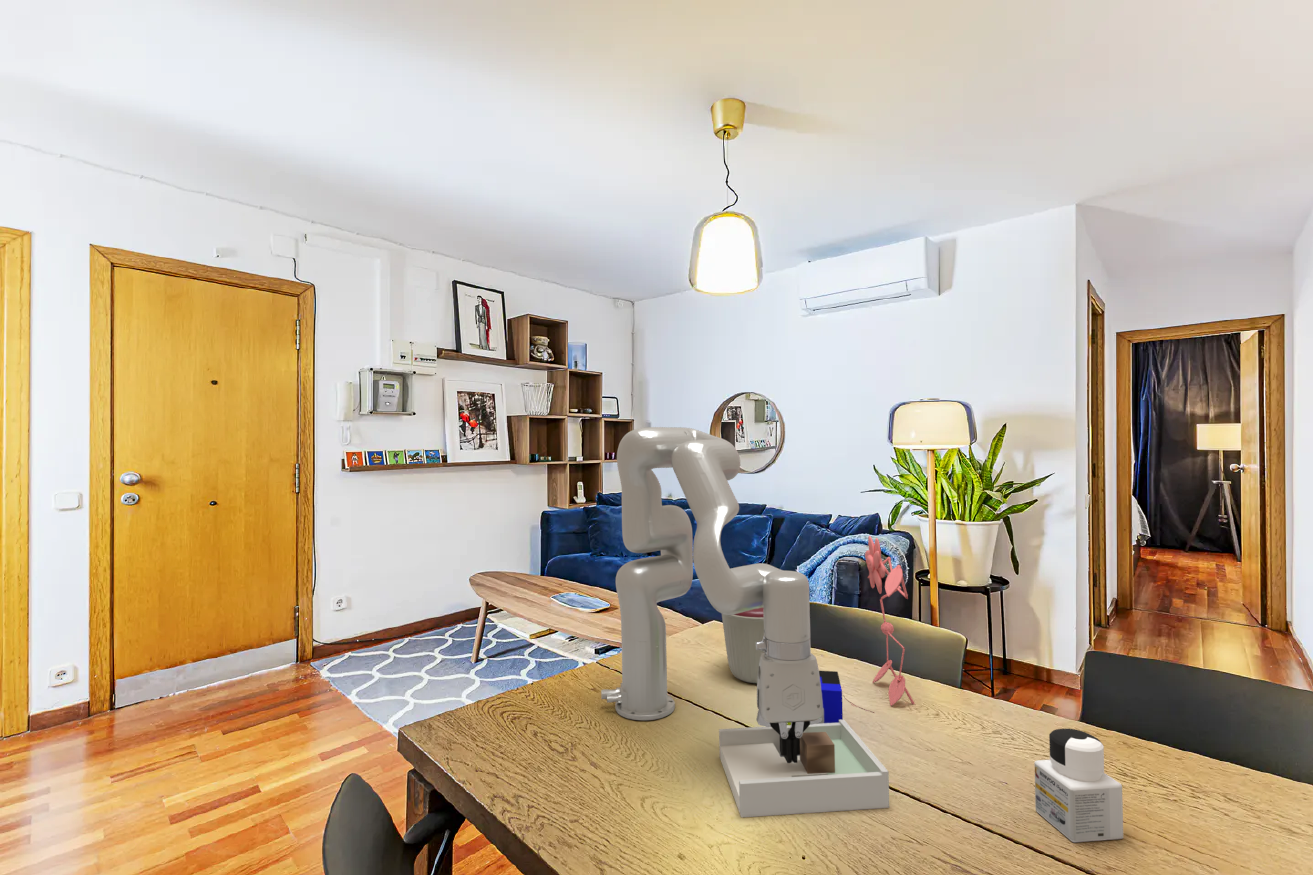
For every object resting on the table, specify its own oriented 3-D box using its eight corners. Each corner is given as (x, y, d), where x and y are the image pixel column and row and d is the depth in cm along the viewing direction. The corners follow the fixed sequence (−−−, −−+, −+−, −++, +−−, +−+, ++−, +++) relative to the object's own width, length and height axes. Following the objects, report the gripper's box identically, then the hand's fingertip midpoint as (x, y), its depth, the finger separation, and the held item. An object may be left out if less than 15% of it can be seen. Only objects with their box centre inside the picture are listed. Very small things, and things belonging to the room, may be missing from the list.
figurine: (895, 673, 150) (889, 527, 150) (931, 721, 124) (923, 545, 124) (830, 673, 151) (823, 528, 152) (851, 721, 126) (844, 547, 126)
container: (1034, 810, 94) (1032, 724, 94) (1082, 807, 95) (1080, 721, 95) (1072, 843, 86) (1070, 749, 86) (1124, 839, 87) (1122, 746, 87)
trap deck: (741, 817, 94) (740, 780, 94) (719, 757, 112) (719, 726, 112) (889, 807, 95) (888, 771, 95) (844, 749, 113) (844, 719, 113)
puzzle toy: (843, 745, 115) (842, 691, 115) (787, 741, 117) (786, 687, 117) (838, 721, 125) (837, 671, 125) (787, 717, 127) (786, 668, 127)
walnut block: (807, 773, 101) (807, 745, 101) (799, 759, 105) (799, 732, 105) (835, 772, 101) (834, 744, 101) (826, 758, 106) (825, 731, 106)
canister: (796, 665, 156) (795, 580, 157) (796, 693, 139) (794, 598, 139) (724, 660, 161) (723, 578, 161) (715, 687, 143) (713, 595, 143)
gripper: (747, 657, 99) (750, 773, 99) (839, 653, 100) (842, 768, 100) (738, 642, 107) (740, 750, 106) (823, 638, 108) (826, 745, 107)
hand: (790, 758), depth 103 cm, fingers closed
